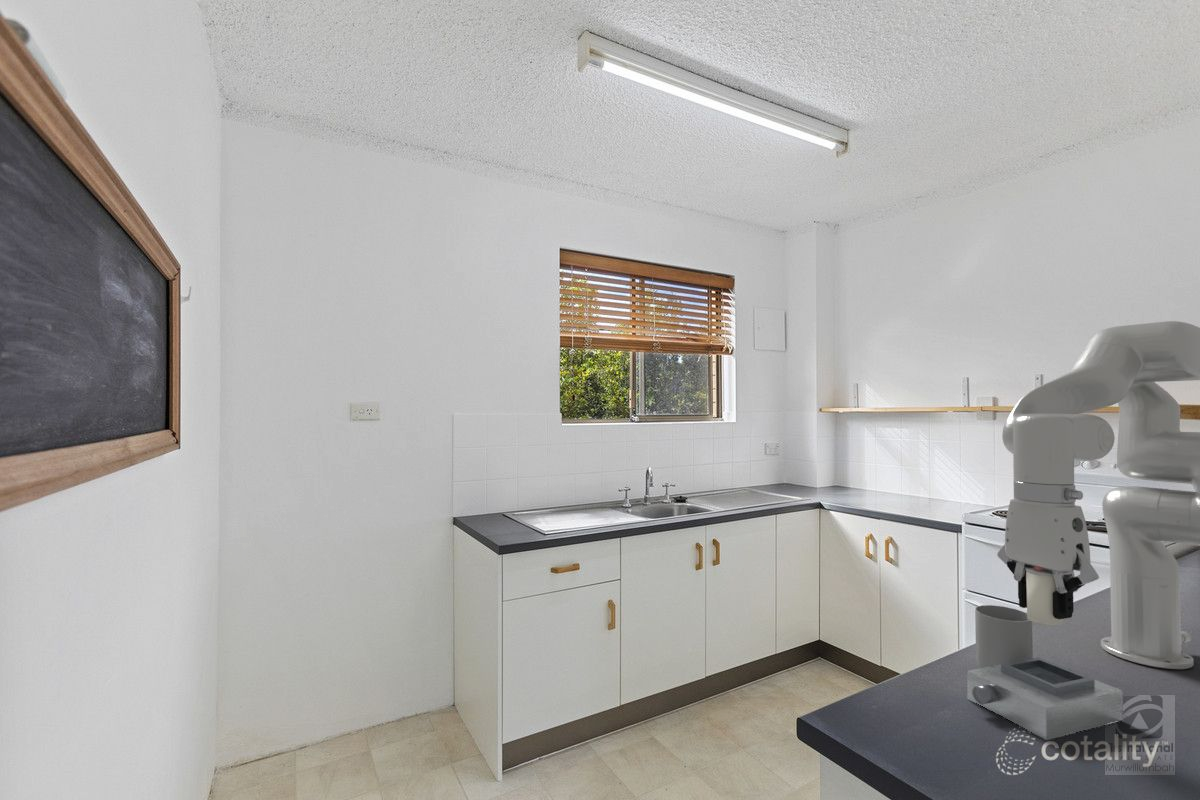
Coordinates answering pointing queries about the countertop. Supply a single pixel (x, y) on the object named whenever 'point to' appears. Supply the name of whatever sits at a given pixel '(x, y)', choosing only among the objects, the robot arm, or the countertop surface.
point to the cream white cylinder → (1041, 596)
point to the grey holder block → (1045, 697)
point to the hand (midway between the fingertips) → (1044, 610)
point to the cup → (1002, 635)
